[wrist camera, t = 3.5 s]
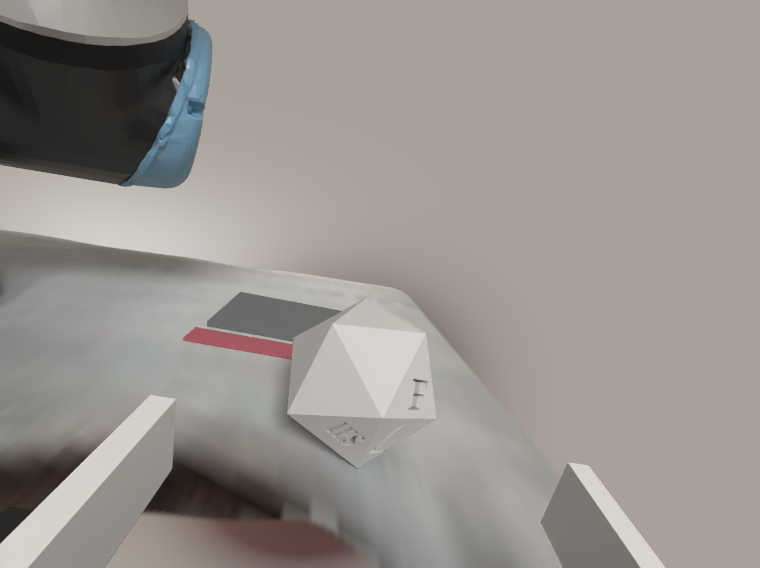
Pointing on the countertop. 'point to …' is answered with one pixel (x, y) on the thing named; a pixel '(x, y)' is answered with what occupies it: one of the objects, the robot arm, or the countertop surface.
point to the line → (240, 342)
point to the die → (361, 381)
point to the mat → (269, 316)
